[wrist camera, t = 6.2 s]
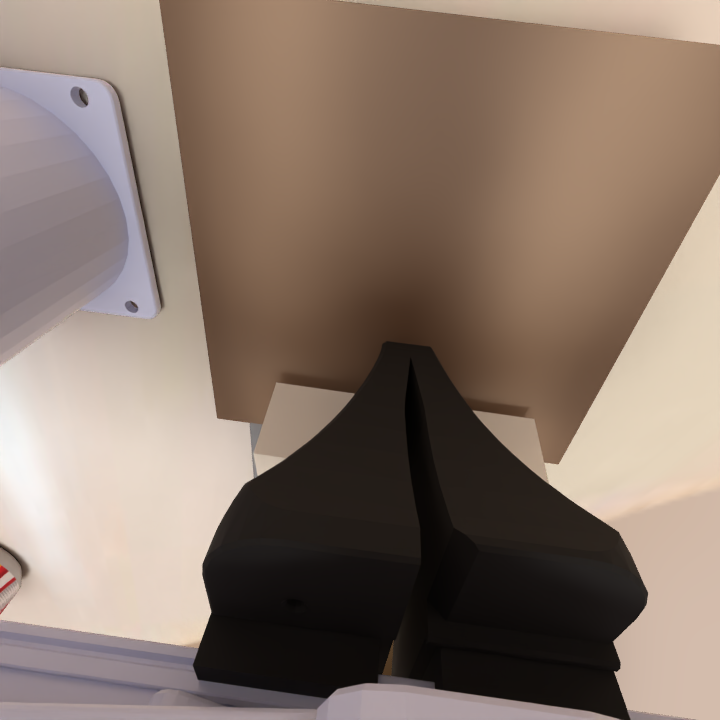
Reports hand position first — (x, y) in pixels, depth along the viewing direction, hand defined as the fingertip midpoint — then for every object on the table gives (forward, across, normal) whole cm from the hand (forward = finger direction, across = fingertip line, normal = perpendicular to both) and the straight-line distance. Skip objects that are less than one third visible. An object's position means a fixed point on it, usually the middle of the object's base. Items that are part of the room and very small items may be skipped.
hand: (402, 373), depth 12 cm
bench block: (+5, 0, -2) cm, 5 cm away
